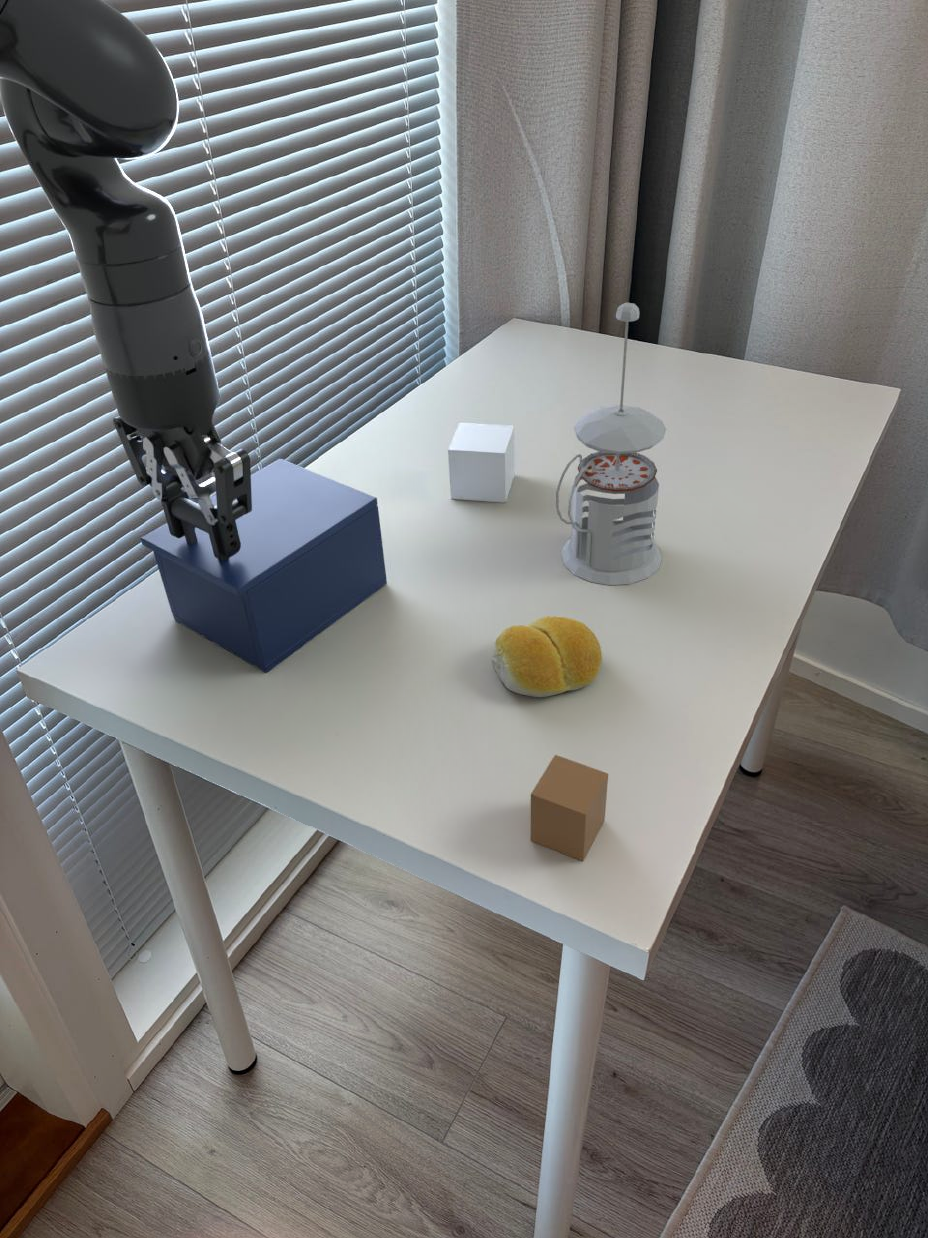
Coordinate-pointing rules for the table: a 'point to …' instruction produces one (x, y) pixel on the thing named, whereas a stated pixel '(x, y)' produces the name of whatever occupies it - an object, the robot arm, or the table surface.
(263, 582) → the box
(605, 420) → the french press
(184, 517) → the lid
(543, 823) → the block
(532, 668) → the bread roll
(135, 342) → the robot arm
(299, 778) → the table surface
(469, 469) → the white cube
